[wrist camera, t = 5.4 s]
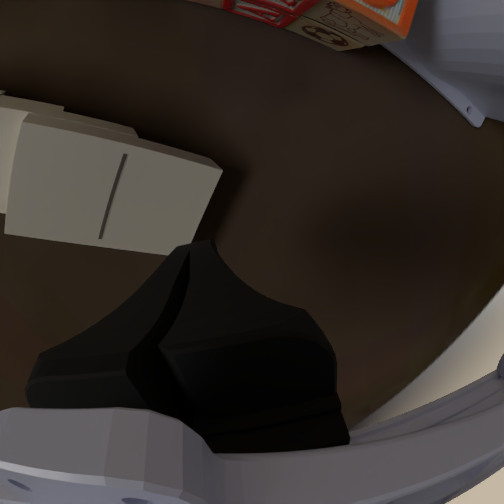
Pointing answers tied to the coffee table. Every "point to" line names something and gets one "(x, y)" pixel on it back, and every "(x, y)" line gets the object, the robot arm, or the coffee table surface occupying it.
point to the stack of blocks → (330, 19)
